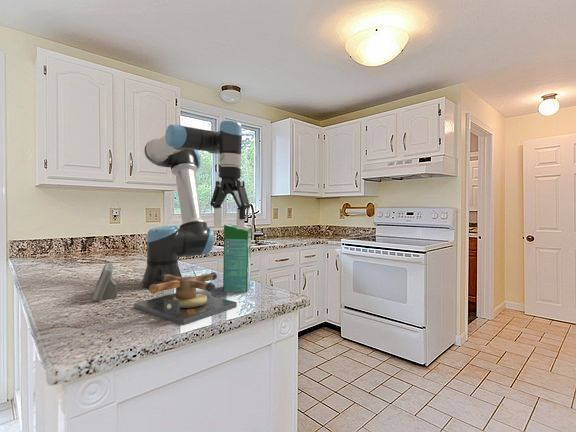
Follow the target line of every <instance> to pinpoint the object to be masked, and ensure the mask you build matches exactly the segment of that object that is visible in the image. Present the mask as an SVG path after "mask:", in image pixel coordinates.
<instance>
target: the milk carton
mask: <svg viewBox="0 0 576 432" xmlns="http://www.w3.org/2000/svg"><path fill="white" fill-rule="evenodd" d="M251 267H252V229H250V228H249V227H248V225H245V224H244V229H236V224H235V225H234V224H231V223H226V224H224V225H223V278H222V282H223V283H222V284H223V285H222V288H223V289H222V290H223V292H230V293H231V292H233V293H234V292H236V293H237V292H238V293H239V292H240V293H242V292H243V293H248V291H249V289H250V287H251V282H252V281H251V280H252V279H251V278H252V277H251V276H252V275H251V274H252V268H251Z"/></svg>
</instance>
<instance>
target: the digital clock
mask: <svg viewBox="0 0 576 432" xmlns="http://www.w3.org/2000/svg"><path fill="white" fill-rule="evenodd" d="M103 266H104V267H103V268H102V271H101V272H100V276H99V278H98V280H97V283H96V284H95V286H94V287H95V288H94V291H93V295H92V300H93V302H101V301H102V300H109V299H112V300H113V299H117V298H118V286H117V285H118V283H117V279H115V278H114V277H113V276H112V275H113V270H114V267H113V263H110V262H107V263H104V265H103Z"/></svg>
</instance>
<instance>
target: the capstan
mask: <svg viewBox="0 0 576 432" xmlns="http://www.w3.org/2000/svg"><path fill="white" fill-rule="evenodd" d="M217 278H218V274H217V272H215V271H214V272H211V273H206V274H202V275H197V276H196V275H195V276H182V277H179V276H174V275H169V274H167V273H164V274H162V275H161V280H162V281H167V282H165V283H160V284H152V285H151V286H150V287H149V288H148V291H149V292H150V293H151V294H157V293H158V292H163V291H167V290H168V291H169V290H173V289H175V293H176V297H174V298H173V300H176V301H180V307H182V308H190V307H198V306H202V305H204V304H206V303H207V296H206V295H207V294H205V295H203V294H204V293H201V294H196V293H197V289H198V290H202V291H207V292H210V293H212V292H213V291H215V288H216V285H215V284H214V283H213V282H208V281H215V280H216V279H217Z"/></svg>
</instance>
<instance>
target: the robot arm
mask: <svg viewBox="0 0 576 432" xmlns="http://www.w3.org/2000/svg"><path fill="white" fill-rule="evenodd" d="M242 129H243V128H242V124H241V123H240V122H238V121H234V120H223V121H221V122H220V124H219V129H218V130H219V131H214V130H208V129H207V130H206V129H202V128H195V127H190V126H185V125H181V124H169V125H168V126H167V128H166V130H165V135H163V136H162V137H160V138H154V139H153V138H152V139H151V140H149V141H148V142H146V144H145V145H144V149H143V150H144V155H145V158H146V159H147V160H148V161H149V162H150V163H152V164H153V165H156V166H157V167H161V168H168V169H169V168H170V172H171V174H172V175H174V176H175V182H176V187H177V196H178V202H179V208H180V215H181V216H180V217H181V224H180V225H179V226H178V225H164V226H158V227H157V226H156V227H152V228H150V229H149V230H148V231H147V236H146V267H145V271H144V274H143V276H142V278H141V285H142V286H141V287H144V288H148V289H149V287H150V286H151V285H152V284H160V283H165V282H167V281H162V280H161V275H162V274H164V273H167V274H169V275H174V276H179V277H183V276H182V273H181V270H180V267H179V264H178V263H179V258H182V257H194V256H196V257H197V256H198V257H199V256H205V255H209V254H210V252H212V250H213V247H214V243H215V232H214V230H213V228H211V227H208V223H207V221H205V220H204V219H203V215H202V210H201V209H202V208H201V204H200V198H199V191H198V185H197V181H196V173H197V171H198V169H199V168H200V166H201V154H200V151H202V152H208V153H209V154H212V155H214V154H215V155H216V154H217V155H218V154H219V155H218V157H219V160H218V161H219V163H218V164H219V166H220V167H219V168H218V178H219V179H221V180H216V181H215V187H214V190H213V194H212V197H211V200H210V203H209V205H210V207H212V208H213V226H214V227H221V226H222V214H223V213H222V212H223V211H222V210H223V209H222V205H223V202H224V201H225V199H226V197H227V195H229V194H230V195H232V198H233V200H234V202H235V204H236V206H237V208H236V224H235V226H236V229H244V225H245V219H246V210H247V209H249V208H251V205H250V202H249V201H250V200H249V197H248V194H247V191H246V185H245V180H241V179H240V178H241V175H242V172H241V171H242V169H241V167H242V145H243V143H242V139H243V133H242V131H243V130H242Z"/></svg>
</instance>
